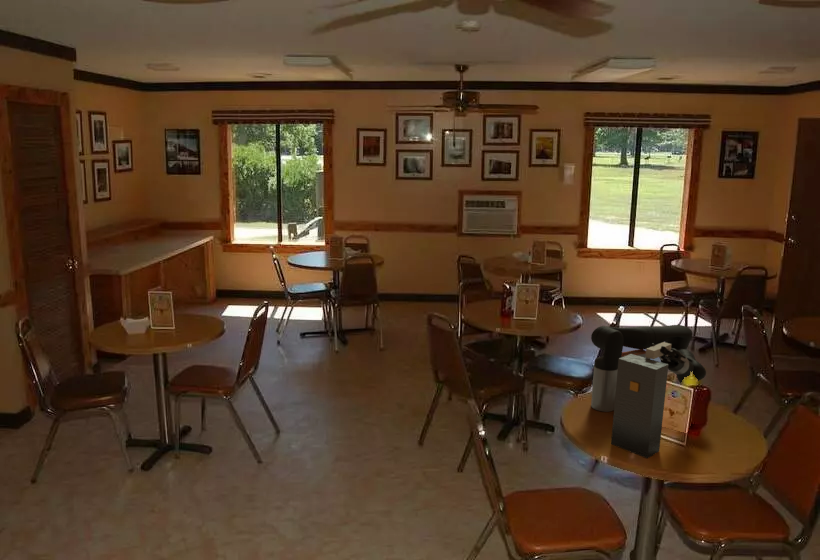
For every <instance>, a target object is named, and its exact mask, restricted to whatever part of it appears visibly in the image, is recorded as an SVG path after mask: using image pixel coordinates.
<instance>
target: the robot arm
mask: <svg viewBox="0 0 820 560" xmlns="http://www.w3.org/2000/svg"><path fill="white" fill-rule="evenodd" d="M692 338H693V331H692V329H691V328H689V327H688V326H685V325H682V324H681V325H680V324H672V325H670V324H669V325H665V326H663V325H662V326H627V327H617V326H616V327H614V326H608V325H607V326H606V325H602V326H601V325H600V326H598V327H596V328H594V329H593V331H592V332H591V335H590V340H591V342H592V344H593V345H594V346H595V347H596V348H598V349H600V350H602V351H603V356H598V357H595V359H594V363H593V364H594V366H593V377H592V378H593V379H592V390H591V402H590V403H591V405H590V407H591V408H592V409H593V410H596V411H599V412H606V413H607V412H612V411H613V412H614V405H615V394H616V382H617V371H618V360H619V358H621V357H622V352H623V349H624V347H625V348H629V349H633V350H638V349H643V350H646V349H647V348H650V347H652V346H655V345H657V344H660V343H662V342H665V343H669V344H672V345H671V350H670V349H667V348H665V347H664V346H661V349H660V352H661V353H662V354H664V355H663V356H660V357H658V359H660V362H662V363H665V364H668V371H670V372H671V373H673V374H674V375H675V376H676V375H677V376H676V378H677V380H678V382H679V383H680V384H681V382H682V380H683V379H684V377H687V376H689V375H690V371H691V372H692V371H693V374H694V375H695V377H696V378H697V379H698V382H699V381H701V380H703V379H704V378H705V377H706V376H707V370H706V368H705V367H704V365H702V363H700V362H699V361H698V360H697V359H696V357H695V355H694V353H693V352H691V351H690V350H689V349H688V347H689V346H690V343H691V340H692Z"/></svg>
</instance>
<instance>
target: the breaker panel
mask: <svg viewBox="0 0 820 560" xmlns="http://www.w3.org/2000/svg"><path fill="white" fill-rule="evenodd" d="M668 371H669V370H668V364H665V363H662V362H661V361H657V360H655V359H651V358H650V359H648V358H644V357H640V356H637V355H633V354H629V355H627V356H624V357H621V358H619V360H618V371H617V382H616V394H615V405H614V410H613V417H612V427H611V428H612V429H611V441H610V444H611V445H613V446H616V447H618V448H621V449H623V450H625V451H627V452H630V453H633V454H636V455H638V456H640V457H643V458H645V459H649V458H651V457H652V456H654V455H656V454H657V453H659V452H660V448H661V447H660V446H661V439H662V427H663V420H664V419H663V418H664V411H665V409H664V408H665V399H666V392H667V391H666V390H667V380H668ZM655 453H656V454H655Z"/></svg>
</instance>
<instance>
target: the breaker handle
mask: <svg viewBox="0 0 820 560" xmlns="http://www.w3.org/2000/svg"><path fill="white" fill-rule="evenodd" d="M671 345H672V344H669V343H665V342H662V343H660V344H657V345H655V346H652V347H650V348H647V349H645V351H646V356H645V357H647V358H650V359H651V360H655V359H657V358H658V359H659V357H660V356H663V355H664V354H662V353H661V352H660V349H661V346H664V347H665V348H667V349H670V350H671Z"/></svg>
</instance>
